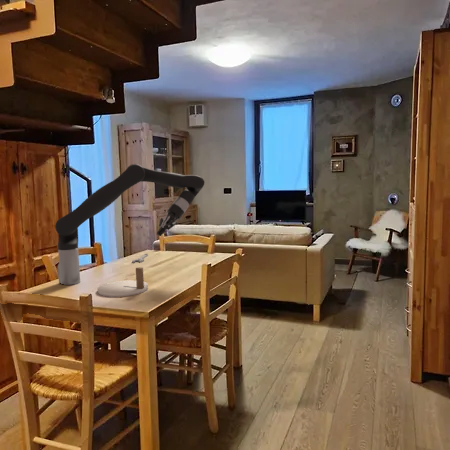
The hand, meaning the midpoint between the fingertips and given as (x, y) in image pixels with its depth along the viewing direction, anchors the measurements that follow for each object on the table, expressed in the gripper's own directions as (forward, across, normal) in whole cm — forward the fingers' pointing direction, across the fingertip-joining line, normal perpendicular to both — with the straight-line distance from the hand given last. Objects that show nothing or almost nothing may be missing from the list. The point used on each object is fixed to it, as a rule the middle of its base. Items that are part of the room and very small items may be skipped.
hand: (158, 234), depth 202 cm
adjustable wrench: (+2, -58, +32) cm, 66 cm away
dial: (+32, +6, -1) cm, 32 cm away
